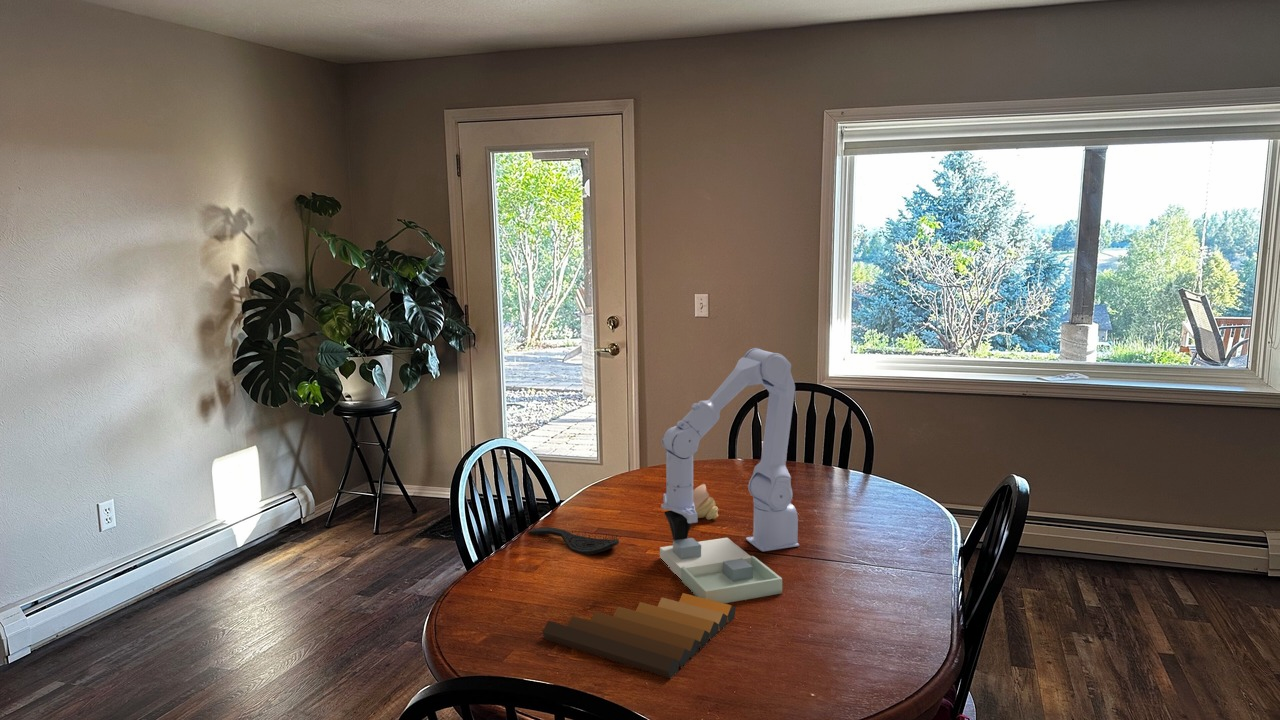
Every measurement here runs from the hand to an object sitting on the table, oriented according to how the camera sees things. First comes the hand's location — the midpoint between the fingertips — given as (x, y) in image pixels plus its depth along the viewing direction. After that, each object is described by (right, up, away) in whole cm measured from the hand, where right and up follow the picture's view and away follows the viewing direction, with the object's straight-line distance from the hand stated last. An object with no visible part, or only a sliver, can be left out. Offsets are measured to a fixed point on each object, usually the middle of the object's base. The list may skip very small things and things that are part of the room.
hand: (679, 544), depth 172 cm
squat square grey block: (+11, -4, -10) cm, 15 cm away
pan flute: (-8, -9, -30) cm, 32 cm away
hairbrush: (-24, -3, +10) cm, 26 cm away
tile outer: (+1, -1, -4) cm, 4 cm away
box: (+9, -5, -14) cm, 17 cm away
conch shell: (+5, 0, +25) cm, 25 cm away
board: (+5, -4, -2) cm, 7 cm away
